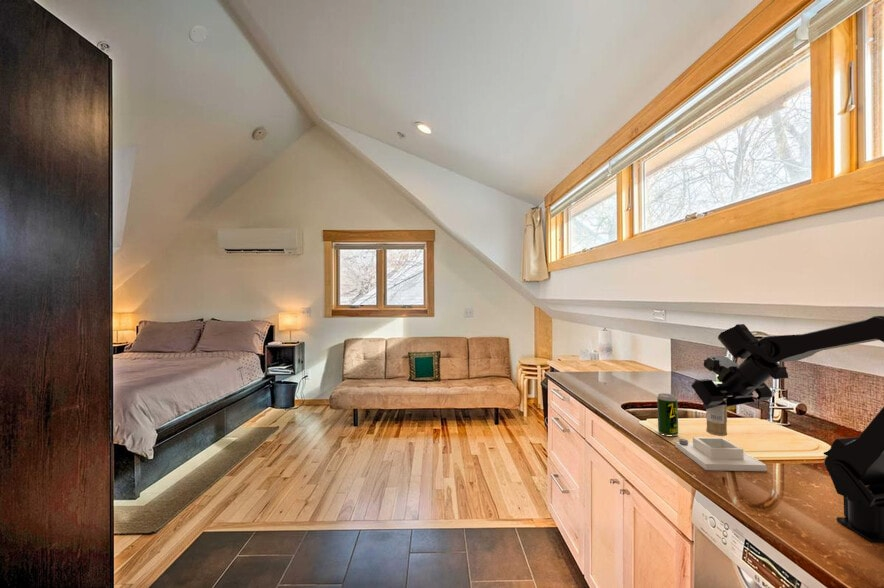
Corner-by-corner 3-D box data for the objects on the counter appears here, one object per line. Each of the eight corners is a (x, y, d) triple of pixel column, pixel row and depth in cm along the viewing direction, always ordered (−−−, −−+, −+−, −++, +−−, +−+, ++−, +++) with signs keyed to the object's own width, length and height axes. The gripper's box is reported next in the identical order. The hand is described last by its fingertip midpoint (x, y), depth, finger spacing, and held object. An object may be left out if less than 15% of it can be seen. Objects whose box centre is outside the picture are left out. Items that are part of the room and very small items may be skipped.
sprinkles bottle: (730, 434, 97) (730, 383, 97) (722, 438, 94) (723, 385, 94) (710, 429, 101) (710, 380, 101) (702, 432, 98) (702, 381, 98)
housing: (766, 471, 90) (766, 454, 90) (705, 470, 91) (705, 453, 91) (727, 447, 104) (727, 433, 104) (675, 446, 105) (675, 432, 105)
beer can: (654, 432, 116) (653, 394, 116) (664, 429, 119) (663, 392, 119) (671, 438, 111) (670, 398, 111) (682, 435, 114) (681, 396, 114)
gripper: (758, 345, 96) (721, 379, 106) (696, 348, 92) (664, 383, 103) (793, 382, 88) (749, 414, 98) (726, 387, 84) (688, 420, 95)
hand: (711, 406), depth 99 cm, fingers closed on sprinkles bottle, 4 cm apart
